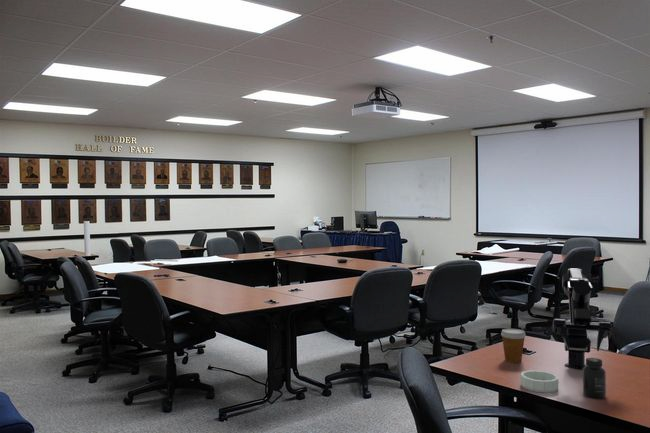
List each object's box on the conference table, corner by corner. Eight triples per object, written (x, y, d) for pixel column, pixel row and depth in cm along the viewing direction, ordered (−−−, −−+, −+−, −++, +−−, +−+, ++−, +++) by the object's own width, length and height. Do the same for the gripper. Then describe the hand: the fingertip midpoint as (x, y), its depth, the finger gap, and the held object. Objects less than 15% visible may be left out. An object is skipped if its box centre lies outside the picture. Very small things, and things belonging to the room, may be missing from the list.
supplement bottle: (606, 394, 176) (607, 358, 176) (605, 400, 171) (605, 363, 170) (584, 390, 180) (584, 355, 180) (581, 396, 174) (581, 360, 174)
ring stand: (533, 378, 193) (533, 368, 193) (565, 387, 183) (565, 376, 183) (513, 385, 186) (513, 374, 186) (546, 395, 176) (546, 383, 176)
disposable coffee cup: (495, 358, 219) (495, 329, 219) (514, 356, 222) (514, 327, 222) (511, 364, 210) (511, 334, 210) (530, 362, 214) (530, 332, 213)
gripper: (553, 296, 190) (554, 337, 181) (612, 299, 183) (616, 341, 174) (552, 312, 198) (553, 351, 189) (608, 315, 191) (612, 355, 182)
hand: (583, 349), depth 183 cm, fingers open, 9 cm apart
